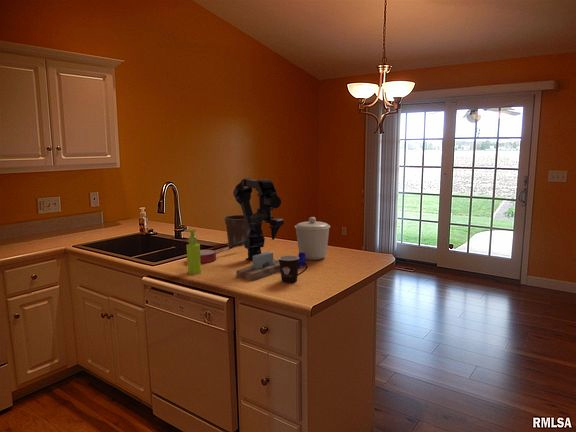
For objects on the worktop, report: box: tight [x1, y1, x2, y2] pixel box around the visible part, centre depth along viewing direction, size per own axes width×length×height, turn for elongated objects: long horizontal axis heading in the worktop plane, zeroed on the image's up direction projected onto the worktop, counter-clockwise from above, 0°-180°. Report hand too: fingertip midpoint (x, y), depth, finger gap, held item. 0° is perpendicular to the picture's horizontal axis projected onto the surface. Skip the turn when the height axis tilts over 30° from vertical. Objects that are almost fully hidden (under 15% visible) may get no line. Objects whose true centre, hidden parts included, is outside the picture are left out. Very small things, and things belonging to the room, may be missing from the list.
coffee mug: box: [278, 255, 308, 284], centre depth 182 cm, size 12×9×10 cm
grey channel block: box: [252, 251, 274, 270], centre depth 196 cm, size 3×10×8 cm, turn 140°
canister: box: [294, 216, 331, 261], centre depth 221 cm, size 18×18×21 cm
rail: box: [235, 258, 281, 282], centre depth 197 cm, size 10×24×3 cm, turn 141°
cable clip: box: [297, 252, 307, 270], centre depth 204 cm, size 12×4×6 cm, turn 143°
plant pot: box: [223, 214, 248, 246], centre depth 258 cm, size 16×16×16 cm
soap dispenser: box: [182, 228, 202, 275], centre depth 197 cm, size 6×7×20 cm
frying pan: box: [200, 241, 244, 264], centre depth 228 cm, size 32×13×6 cm, turn 139°
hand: (265, 238), depth 208 cm, fingers open, 9 cm apart
